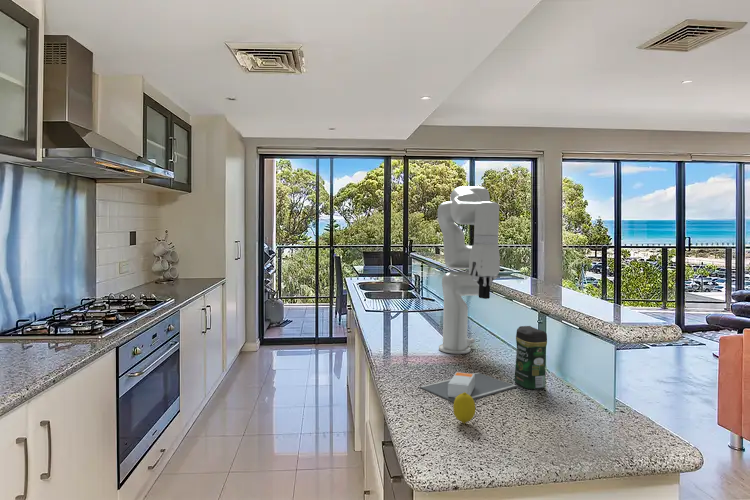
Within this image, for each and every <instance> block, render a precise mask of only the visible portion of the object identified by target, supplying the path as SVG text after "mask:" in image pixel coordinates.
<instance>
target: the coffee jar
mask: <svg viewBox="0 0 750 500" xmlns="http://www.w3.org/2000/svg"><path fill="white" fill-rule="evenodd" d="M515 341H516V343H515V344H516V354H515V355H516V356H515V366H514V367H515V368H514V379H513V380H514V382H515V383H516V384H517V385H519V386H521V387H523V388H525V389H527V390H529V389H530V390H534V391H535V390H536V389H537V390H541V389H543V388H545V387H546V348H547V345H548V335H547V332H545V331H544V330H541V329H538V328H536V327H533V326H531V325H523V326H521V325H520V326H519V327H518V328H517V329H516V335H515ZM537 390H536V391H537Z"/></svg>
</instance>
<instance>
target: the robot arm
mask: <svg viewBox="0 0 750 500" xmlns="http://www.w3.org/2000/svg"><path fill="white" fill-rule="evenodd" d="M489 192H490V191H489V190H488V189H487V188H486V187H484V186H471V185H470V186H467V185H462V186H458V187H455V188H454V189H453V190H452V192H451V193H450V201H444V202H442V203H440V204H439V205H438V207H437V221H438V225H439V228H440V231H441V234H442V239H443V240H442V241H443V255H444V256H443V257H444V265H445V266H446V267H447V268H448V269H451V270H452V269H453V270H468V271H448V272H446V273H444V274H443V276H442V280H441V286H442V295H443V296H442V297H443V316H442V317H443V321H442V324H443V325H442V344H440V345H438V350H439V351H440V352H442V353H445V354H455V355H461V354H469V353H470V352H471V351H472V349H471V347H470V346H469V345H470V344H474V343H475V341H476V340H475V339H474V338H468V317H469V316H468V313H469V311H468V310H469V307H468V304H467V303H466V301H465V300H464V298H462V297H465V296H466V297H467V296H469V297H471V296H476V297H477V296H478V298H479V299H483V300H484V299H485V300H488V299H489V300H490V296H491V286H492V282H493V281H495V280H496V279H498V275H499V274H500V270H501V269H500V267H501V265H500V264H501V263H500V262H501V261H500V259H501V257H500V256H501V255H500V248H499V225H500V224H499V223H500V221H499V220H500V205H499V203H497V202H495V201H490V193H489ZM457 224H458V225H471V226H474V227H473V228H474V229H473V244H472V245H466V243H465V234H464V232H463V230H462V229H461V228H460V227H459V226H458V225H457Z"/></svg>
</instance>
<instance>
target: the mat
mask: <svg viewBox="0 0 750 500" xmlns="http://www.w3.org/2000/svg"><path fill="white" fill-rule="evenodd" d="M473 374H475V387H474V389H473V391H472V393H471V395H470V396H471V397H472V398H473V400H474V401H475V400H478V399H481V398H484V397H488V396H491V395H494V394H498V393H502V392H506V391H508V390H511V389H512V390H513V389H514V388H517V387H518V386H517V385H516V384H513V383H509V382H506V381H504V380H500V379H498V378H495V377H492V376H489V375H486V374H484V373H481V372H474V373H473ZM451 379H452V378H450V379H446V380H441V381H439V382H438V381H437V382H435V383H434V382H433V383H428V384H424V385H421V386H419V389H421V390H424V391H426V392H428V393H431V394H433V395H435V396H438V397H439V398H441V399H442V398H443V399H444V400H447V401H449V402H452V403H453V404H454V401H455V398H452V397H448V383H449V382H450V380H451Z"/></svg>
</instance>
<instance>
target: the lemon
mask: <svg viewBox="0 0 750 500" xmlns="http://www.w3.org/2000/svg"><path fill="white" fill-rule="evenodd" d="M452 407H453V408H452V409H453V415H454V416H455V418H456V420H458V421H460V422H461V423H462V424H466V423H467V422H470V421H471V420H473V418H474V417H475V414H476V402H475V400H473V398H472V397H471V396H470V395H469V394H467V393H465V392H464V393H462V394H460V395H458V396H457V397H456V398H455V401H454V403H453V406H452Z"/></svg>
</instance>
